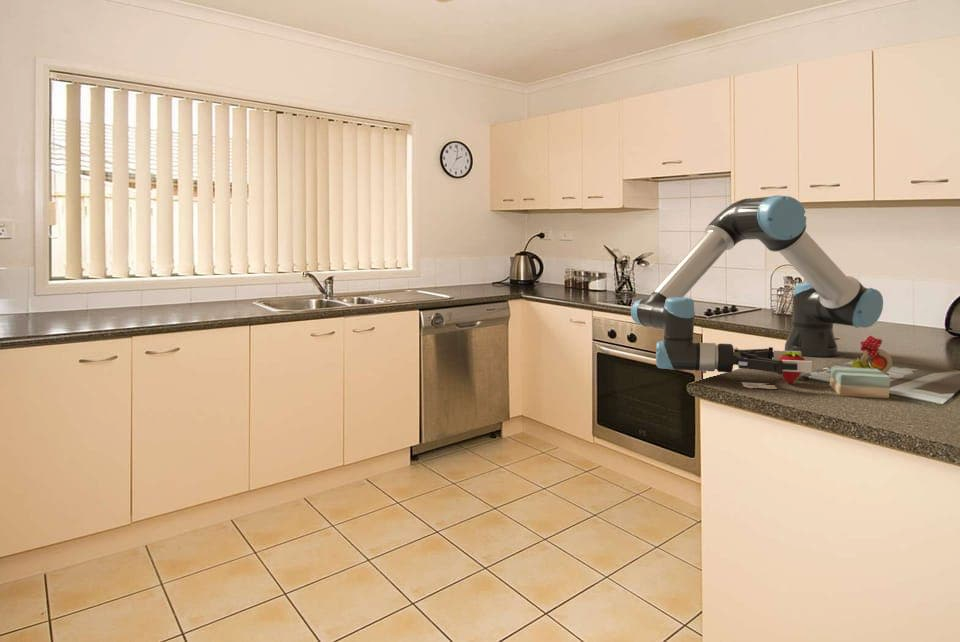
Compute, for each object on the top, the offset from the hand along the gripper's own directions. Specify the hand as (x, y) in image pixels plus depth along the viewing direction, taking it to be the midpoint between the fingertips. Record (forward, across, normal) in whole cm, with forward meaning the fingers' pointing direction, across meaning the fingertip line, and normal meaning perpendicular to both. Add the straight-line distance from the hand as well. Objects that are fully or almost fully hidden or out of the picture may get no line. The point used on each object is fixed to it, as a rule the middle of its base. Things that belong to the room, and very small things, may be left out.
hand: (806, 361), depth 155 cm
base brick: (+11, +5, -6) cm, 13 cm away
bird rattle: (+19, -15, -6) cm, 25 cm away
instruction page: (-11, +5, -6) cm, 14 cm away
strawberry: (-3, 0, -6) cm, 7 cm away
